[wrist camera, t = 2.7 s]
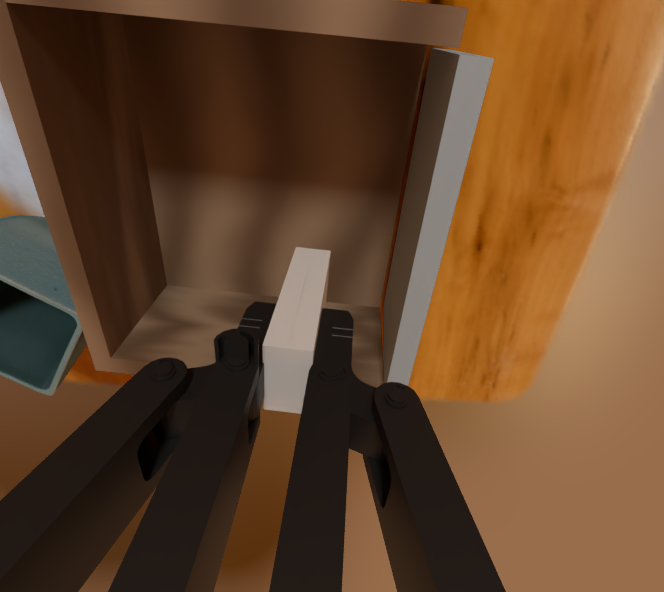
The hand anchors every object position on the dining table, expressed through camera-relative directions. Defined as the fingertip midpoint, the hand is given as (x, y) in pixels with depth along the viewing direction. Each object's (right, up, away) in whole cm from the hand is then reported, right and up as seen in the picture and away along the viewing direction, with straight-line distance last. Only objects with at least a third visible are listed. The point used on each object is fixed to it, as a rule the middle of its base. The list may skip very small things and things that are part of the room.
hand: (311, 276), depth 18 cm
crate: (-4, +7, +10) cm, 13 cm away
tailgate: (+6, +5, +9) cm, 12 cm away
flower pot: (-19, +2, +15) cm, 24 cm away
